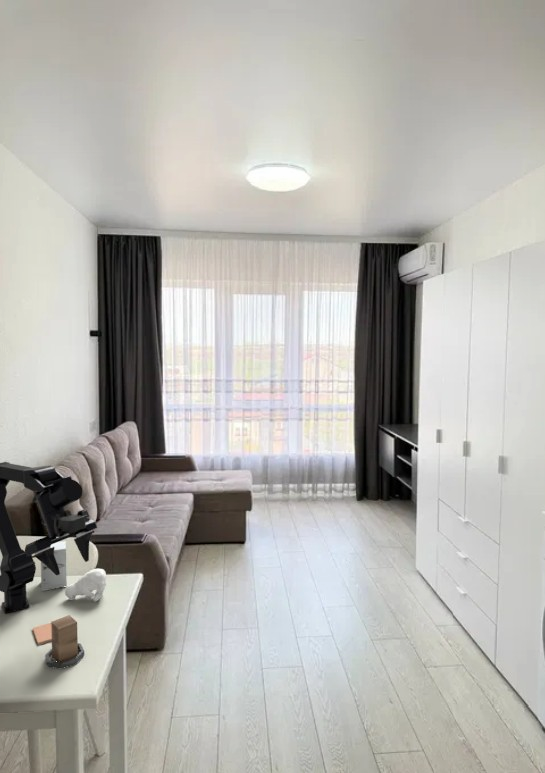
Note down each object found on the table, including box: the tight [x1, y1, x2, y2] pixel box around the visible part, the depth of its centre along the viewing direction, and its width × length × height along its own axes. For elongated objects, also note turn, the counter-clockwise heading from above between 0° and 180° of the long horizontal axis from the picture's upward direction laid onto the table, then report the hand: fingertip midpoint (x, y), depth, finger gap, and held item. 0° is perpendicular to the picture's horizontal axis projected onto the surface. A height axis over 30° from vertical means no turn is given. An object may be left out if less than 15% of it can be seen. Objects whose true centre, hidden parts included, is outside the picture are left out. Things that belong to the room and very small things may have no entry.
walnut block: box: [50, 614, 79, 662], centre depth 121 cm, size 4×4×9 cm
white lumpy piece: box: [64, 568, 107, 602], centre depth 149 cm, size 6×8×12 cm
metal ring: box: [44, 642, 85, 669], centre depth 121 cm, size 8×8×1 cm
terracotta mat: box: [32, 622, 52, 646], centre depth 131 cm, size 8×8×1 cm
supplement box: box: [40, 540, 68, 592], centre depth 157 cm, size 7×7×13 cm
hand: (73, 567), depth 131 cm, fingers open, 9 cm apart
